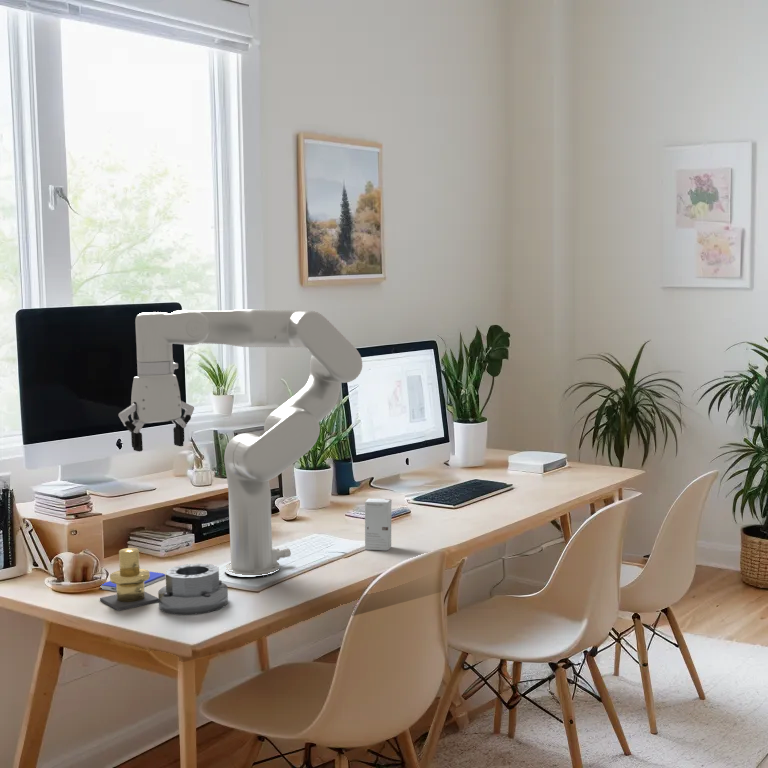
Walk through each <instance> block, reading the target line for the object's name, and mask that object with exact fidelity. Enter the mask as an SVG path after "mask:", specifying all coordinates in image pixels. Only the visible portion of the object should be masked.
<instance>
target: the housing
mask: <svg viewBox="0 0 768 768" xmlns="http://www.w3.org/2000/svg"><path fill="white" fill-rule="evenodd" d="M219 570H220V568H219V566H217V565H214V564H212V563H211V564H210V563H209V564H208V563H187V564H181V565H177V566H173V567H170V568H169V569H166V571H165V576H166V578H165V586H163V587H161V588H160V589H158V593H157V595H158V597H157V598H159V602H158V609H159V610H160V611H161V612H164V613H166V614H171V615H179V616H185V615H186V616H187V615H188V616H189V615H190V616H191V615H201V614H207V613H212V612H215V611H218V610H220V609H222V608H224V607H226V606H227V605H228V603H229V591H228V590H229V589H228V585H227V584H226V583H224V582H222V580H220V574H219V573H220V571H219Z"/></svg>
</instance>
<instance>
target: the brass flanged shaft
mask: <svg viewBox="0 0 768 768" xmlns="http://www.w3.org/2000/svg"><path fill="white" fill-rule="evenodd" d="M118 560H119V562H118V563H119V570H116V571H113V572H111V574H110V575H109V581H111V582H112V583H114V584H116V587H117V591H116V594H117V600H118V601H120V602H135V601H139V600H142V599H143V598H144V597H145V593H144V592H145V587H144V581H147V580H148V579H149V578H150V572H151V571H150V570H148V569H146V568H145V569H144V568H140V551H139V548H136V547H127V548H122V549H120V550H119V551H118Z"/></svg>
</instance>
